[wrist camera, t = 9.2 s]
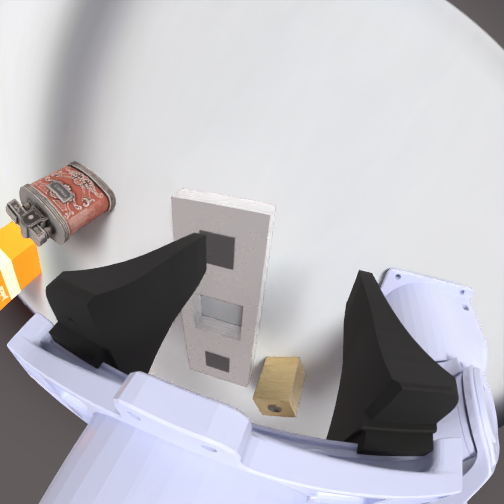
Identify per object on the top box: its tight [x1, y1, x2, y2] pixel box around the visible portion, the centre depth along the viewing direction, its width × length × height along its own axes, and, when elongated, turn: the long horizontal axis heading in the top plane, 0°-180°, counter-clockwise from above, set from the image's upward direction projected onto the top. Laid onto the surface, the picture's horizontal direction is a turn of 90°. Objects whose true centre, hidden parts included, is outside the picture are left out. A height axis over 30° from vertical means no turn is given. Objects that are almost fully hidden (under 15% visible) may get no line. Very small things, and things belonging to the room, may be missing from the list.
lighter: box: [6, 161, 116, 247], centre depth 22 cm, size 8×3×10 cm, turn 57°
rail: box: [171, 188, 276, 387], centre depth 28 cm, size 8×24×2 cm, turn 175°
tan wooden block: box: [252, 357, 305, 417], centre depth 29 cm, size 4×4×6 cm
